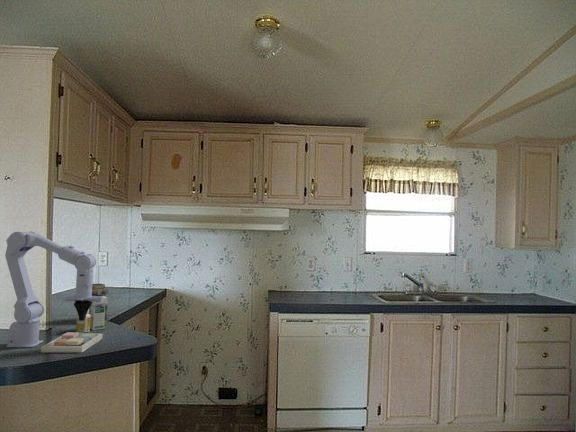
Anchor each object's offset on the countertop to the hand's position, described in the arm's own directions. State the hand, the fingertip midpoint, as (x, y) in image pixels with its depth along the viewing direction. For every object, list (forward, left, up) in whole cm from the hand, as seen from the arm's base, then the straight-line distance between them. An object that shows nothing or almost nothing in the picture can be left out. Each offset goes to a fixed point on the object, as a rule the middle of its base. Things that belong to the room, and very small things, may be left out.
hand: (82, 320), depth 150 cm
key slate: (0, 0, -9) cm, 9 cm away
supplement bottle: (-8, +20, -10) cm, 24 cm away
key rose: (-5, +3, -8) cm, 10 cm away
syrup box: (-4, +26, -10) cm, 28 cm away
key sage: (0, +6, -9) cm, 11 cm away
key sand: (0, -6, -8) cm, 10 cm away
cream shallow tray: (-3, 0, -10) cm, 10 cm away
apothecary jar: (-12, +42, -10) cm, 45 cm away
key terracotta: (-5, -3, -9) cm, 11 cm away
